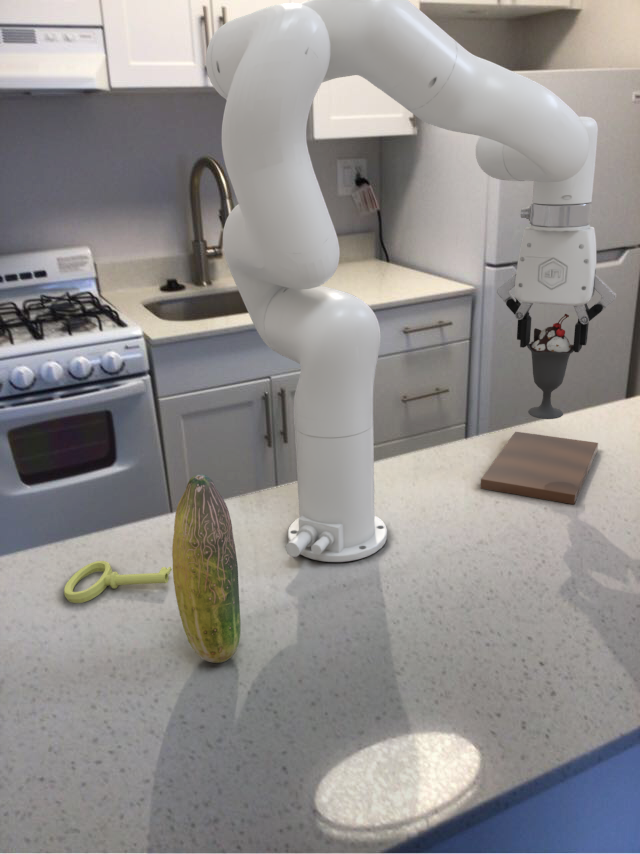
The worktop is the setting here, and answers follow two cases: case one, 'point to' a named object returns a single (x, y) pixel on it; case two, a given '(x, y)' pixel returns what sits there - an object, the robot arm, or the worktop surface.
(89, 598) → the key
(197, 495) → the vegetable
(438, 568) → the worktop surface
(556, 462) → the serving board
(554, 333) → the sundae
